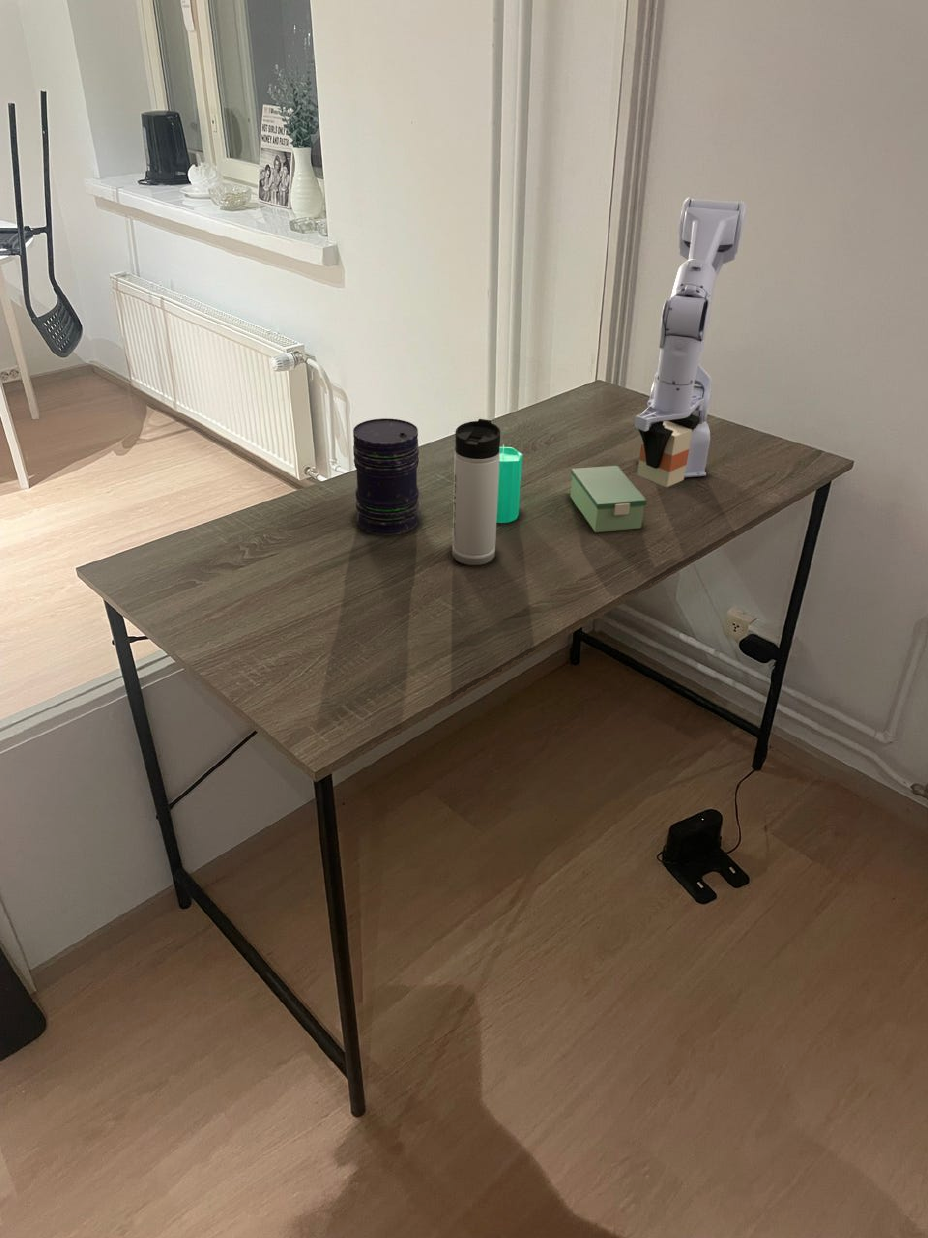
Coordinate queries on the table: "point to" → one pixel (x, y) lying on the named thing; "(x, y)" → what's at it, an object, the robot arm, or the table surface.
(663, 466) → the juice carton
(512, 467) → the candle
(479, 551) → the travel mug
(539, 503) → the table surface
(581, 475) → the lunchbox
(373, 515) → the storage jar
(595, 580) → the table surface
